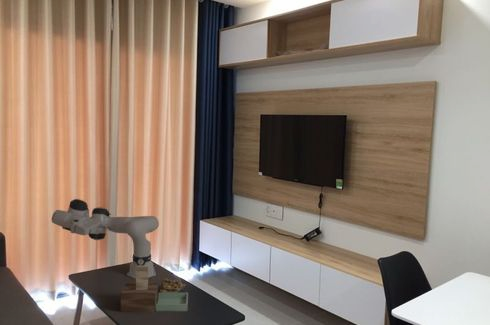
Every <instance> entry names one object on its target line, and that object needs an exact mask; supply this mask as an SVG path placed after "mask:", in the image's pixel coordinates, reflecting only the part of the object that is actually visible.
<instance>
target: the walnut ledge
mask: <svg viewBox="0 0 490 325" xmlns="http://www.w3.org/2000/svg"><path fill="white" fill-rule="evenodd" d="M158 293H159V283H158V282H148V288H147V290H136V282H125V284H124V287H123V289H122V291H121V292H120V313H122V312H123V313H138V312H139V313H140V312H141V313H149V312H150V313H153V312H154V313H155V312H156V304H157V302H158Z"/></svg>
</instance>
